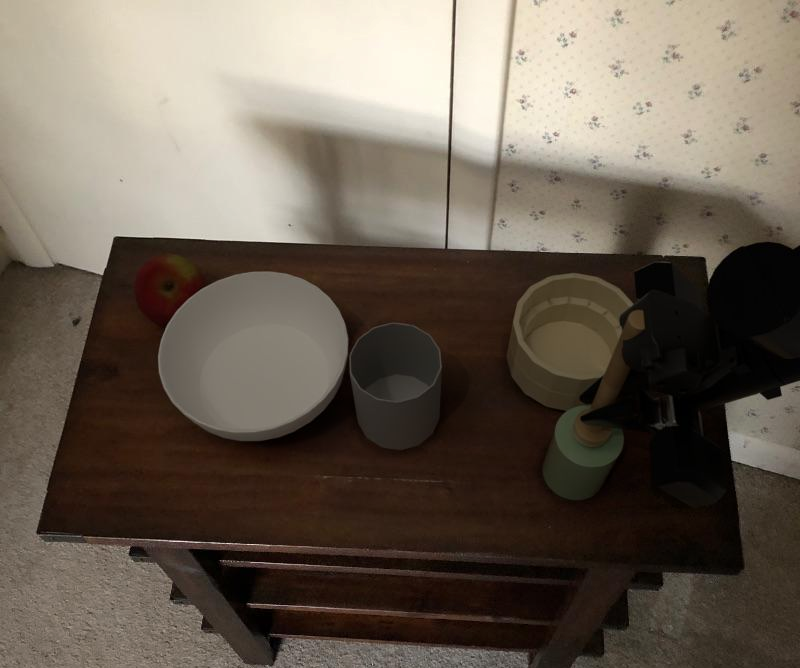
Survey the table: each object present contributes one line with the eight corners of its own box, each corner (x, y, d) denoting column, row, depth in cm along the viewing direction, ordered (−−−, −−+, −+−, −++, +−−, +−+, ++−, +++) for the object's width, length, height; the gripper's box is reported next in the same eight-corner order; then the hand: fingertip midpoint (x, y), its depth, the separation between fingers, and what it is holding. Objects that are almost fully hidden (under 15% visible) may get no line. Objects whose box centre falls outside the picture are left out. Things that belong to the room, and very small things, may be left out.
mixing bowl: (577, 296, 84) (589, 255, 78) (649, 378, 79) (668, 341, 73) (484, 345, 81) (489, 307, 75) (552, 433, 76) (564, 400, 70)
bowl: (341, 472, 75) (334, 440, 68) (159, 457, 76) (135, 424, 69) (364, 317, 83) (359, 276, 77) (200, 306, 84) (182, 265, 78)
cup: (442, 447, 76) (444, 399, 67) (358, 452, 76) (350, 405, 67) (435, 374, 80) (437, 319, 71) (356, 378, 80) (348, 324, 71)
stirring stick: (594, 408, 67) (643, 292, 52) (617, 436, 66) (674, 325, 51) (564, 425, 67) (606, 313, 52) (587, 454, 65) (636, 347, 50)
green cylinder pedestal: (579, 433, 76) (595, 394, 69) (617, 480, 74) (638, 445, 66) (529, 461, 75) (541, 425, 68) (567, 511, 72) (582, 479, 65)
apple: (138, 341, 82) (112, 297, 75) (158, 281, 86) (135, 233, 79) (207, 347, 82) (187, 303, 75) (224, 286, 86) (206, 239, 79)
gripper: (700, 182, 53) (520, 274, 63) (736, 424, 44) (520, 485, 54) (772, 260, 59) (598, 332, 69) (816, 485, 50) (609, 529, 61)
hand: (582, 410), depth 63 cm, fingers closed on stirring stick
